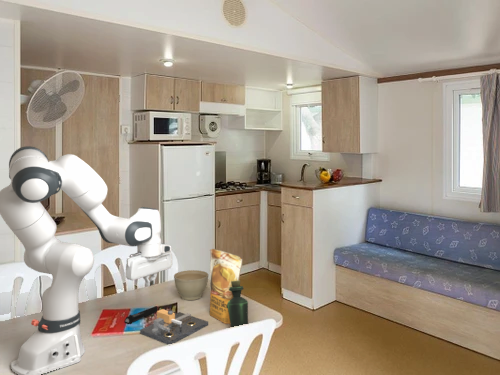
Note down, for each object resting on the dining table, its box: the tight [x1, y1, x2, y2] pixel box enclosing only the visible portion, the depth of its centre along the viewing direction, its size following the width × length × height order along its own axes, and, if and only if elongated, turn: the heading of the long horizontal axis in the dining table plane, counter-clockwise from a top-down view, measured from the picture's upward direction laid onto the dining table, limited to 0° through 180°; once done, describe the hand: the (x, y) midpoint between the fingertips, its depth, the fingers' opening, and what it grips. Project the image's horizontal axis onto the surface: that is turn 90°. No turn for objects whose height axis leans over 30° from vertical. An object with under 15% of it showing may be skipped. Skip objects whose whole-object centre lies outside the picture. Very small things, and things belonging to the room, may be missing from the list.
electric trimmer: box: [123, 306, 159, 325], centre depth 172 cm, size 4×16×3 cm, turn 142°
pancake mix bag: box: [209, 248, 243, 325], centre depth 171 cm, size 7×19×28 cm, turn 40°
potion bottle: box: [227, 279, 249, 328], centre depth 161 cm, size 8×8×18 cm
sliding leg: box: [156, 308, 182, 329], centre depth 161 cm, size 3×12×5 cm, turn 55°
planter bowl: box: [173, 269, 209, 301], centre depth 195 cm, size 16×16×11 cm
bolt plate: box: [139, 312, 209, 346], centre depth 161 cm, size 21×16×6 cm
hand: (150, 285), depth 156 cm, fingers closed
